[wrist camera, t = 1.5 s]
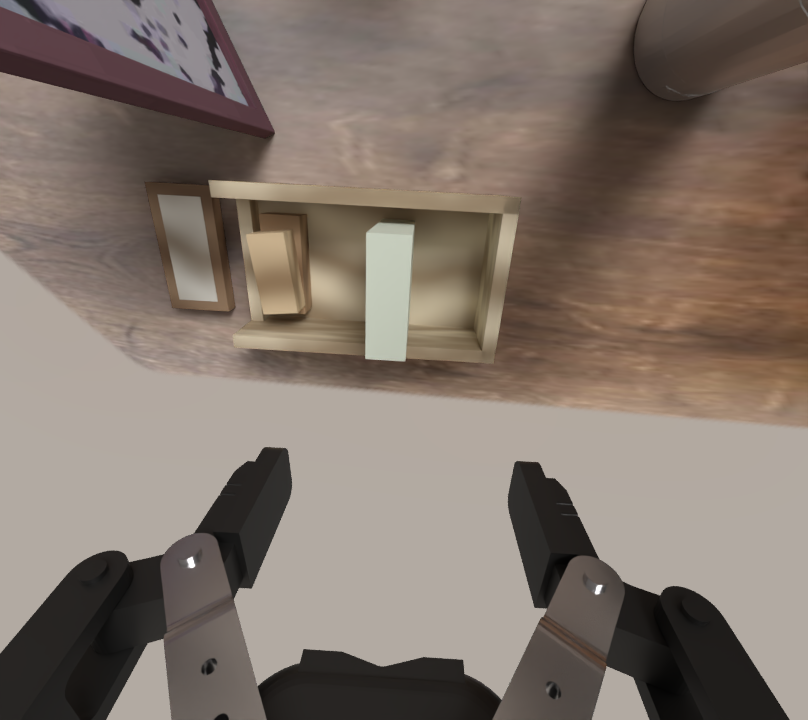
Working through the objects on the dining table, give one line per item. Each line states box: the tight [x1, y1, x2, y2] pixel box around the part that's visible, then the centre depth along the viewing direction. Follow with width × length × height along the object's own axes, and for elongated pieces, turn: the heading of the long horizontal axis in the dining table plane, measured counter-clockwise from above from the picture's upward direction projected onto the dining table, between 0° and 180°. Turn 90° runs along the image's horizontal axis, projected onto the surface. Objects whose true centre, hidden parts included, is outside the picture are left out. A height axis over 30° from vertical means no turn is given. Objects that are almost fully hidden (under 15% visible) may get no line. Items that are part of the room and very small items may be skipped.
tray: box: [208, 180, 521, 364], centre depth 35 cm, size 14×24×7 cm, turn 87°
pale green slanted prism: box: [365, 219, 415, 361], centre depth 31 cm, size 9×3×12 cm, turn 177°
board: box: [145, 182, 235, 311], centre depth 37 cm, size 12×6×2 cm, turn 177°
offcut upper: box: [246, 229, 305, 314], centre depth 34 cm, size 7×3×2 cm, turn 3°
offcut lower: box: [259, 212, 312, 314], centre depth 36 cm, size 9×4×2 cm, turn 177°
